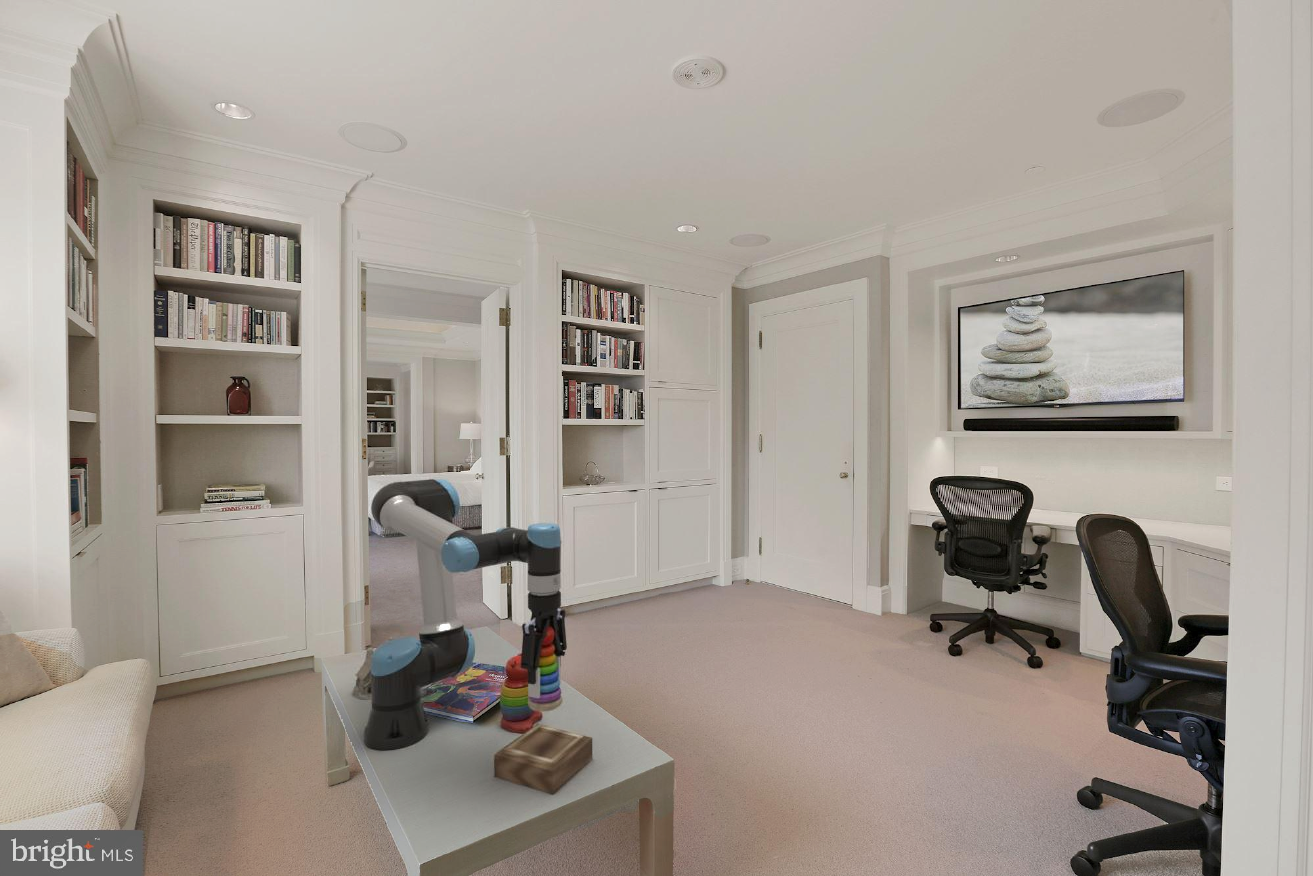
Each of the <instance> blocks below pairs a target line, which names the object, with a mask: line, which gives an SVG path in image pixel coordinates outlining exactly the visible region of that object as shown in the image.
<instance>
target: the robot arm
mask: <svg viewBox="0 0 1313 876" xmlns="http://www.w3.org/2000/svg"><path fill="white" fill-rule="evenodd" d="M460 508H461V502H460V496H459V493H458V491H457V489H456V488H455V486H454V485H453V484H452V483H451V482H450V481H448V480H446V479H442V478H441V479H439V478H438V479H437V478H435V479H434V478H429V479H420V480H408V481H395V482H391V483H388V484H387V485H384V486H383V487H381V488H380V489H379V490H378V491H377V492H376V493H375V494H374V496H373V499H372V501H371V506H370V509H371V511H370V512H371V514H372V515H371V516H372V517H373V519H374V521H375V522H376V523H377V525H379V526H381V528H383V529H385V530H386V531H389V532H393V533H395V532H399V533H400V534H402V535H405V536H406V537H408V538H409V539H411V540H413V541H415V545H416V548H415V549H416V557H417V566H418V577H419V578H418V579H419V588H420V597H421V607H422V615H423V616H422V617H423V625H422V627H421V628H420V630H419V631H418V636H419V637H418V638H417V637H415V636H414V637H413V636H404V637H402V638H400V637H397V638H393V640H391V641H389V640H387V641H388V642H387V641H386V642H383V643H382V644H381V645H379V646H378V647H377V648H376V649H375V650H373V652H374V653H373V655H372V661H371V668H370V671H371V710H370V713H369V716H368V721H367V724H366V726H365V728H364V730H363V731H364V732H363V742H364V745H366V747H368V748H371V749H375V750H381V751H388V750H394V749H400V748H406V747H407V746H411V745H413V744H415V743H417V742H419V741H421V740H423V738H425V736H426V735H427V734H428V732H429V720H428V718H427V715H426V712H425V710H424V706H423V703H422V699H421V698H422V693H421V692H422V691H421V690H422V688H423V687H426V686H429V685H432V684H434V683H437V682H441V681H443V680H445V679H446V680H447V679H450V678H454V677H455V676H458V675H460V674H461V673H462V674H463V672H466V671H467V670H468V669H469V668H470V667H471V665H472V664H473V662H474V659H475V654H476V643H475V639H474V636H473V635H472V633H471V630H469V629H468V628H465V625H464V622H463V621H461V620H460V619H458V615H457V614H458V613H457V607H456V596H455V595H456V594H455V587H454V578H453V576H454V575H453V573H454V574H455V573H456V574H457V573H467V572H468V573H469V572H470V571H473V570H478V569H482V568H486V567H490V566H497V565H501V564H502V565H503V564H507V563H511V562H521V563H525V564H527V591H528V593H527V608H528V610H529V611H530V612H531V616H530V621H529V622H528V623H525V622H524V623H522V625H521V629H522V641H521V642H522V643H521V644H522V645H521V654H522V655H521V668H523V669H527V671H528V696H529V697H534V698H540V668H538V663H539V658H540V653H541V648H542V643H543V639H544V638H545V637H546V633H547V628H548V627H552V628H553V630H554V639H553V641H552V642H551V644H553V645H554V647H555V651H554V654H555V656H556V660H555V662H556V663H557V670H558V672H559V677H558V678H559V680H560V685H561V684H562V683H561V681H562V680H561V671H562V670H561V668H562V667H561V666H562V657H565V655H566V651H567V649H568V648H567V647H568V644H567V634H566V633H567V631H566V623H565V622H566V621H565V619H566V610H564V609H561V607H562V593H561V591H560V590H561V588H562V587H561V586H562V585H561V584H562V583H561V582H562V581H561V580H562V579H561V572H562V571H561V570H562V569H561V567H562V566H561V564H562V563H561V562H562V561H561V559H562V558H561V557H562V555H561V554H562V552H561V551H562V550H561V549H562V548H561V547H562V540H561V539H562V536H561V528H560V526H559V525H558V524H556V523H552V522H549V523H548V522H537V523H536V522H535V523H533V524H530V525H529V526H528V527H527V529H522V528H518V527H512V526H511V527H506V526H505V527H500V528H498V529H497V530H496V531H493V532H486V533H479V534H474V533H471V532H469V531H467V530H465V529H463V528H461V527H459V526H457V525H456V524H454V522H453V521H454V520H453V519H455V518H456V517H457V516H458V515H459V513H460V512H459V511H460ZM535 631H536V632H537V633H541V634H535Z"/></svg>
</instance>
